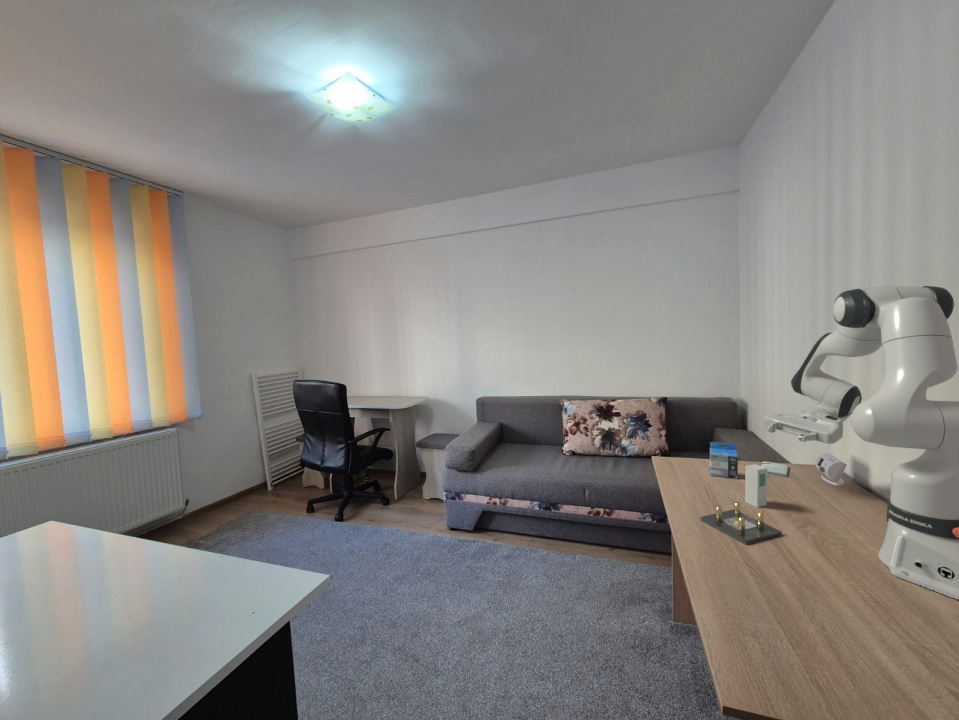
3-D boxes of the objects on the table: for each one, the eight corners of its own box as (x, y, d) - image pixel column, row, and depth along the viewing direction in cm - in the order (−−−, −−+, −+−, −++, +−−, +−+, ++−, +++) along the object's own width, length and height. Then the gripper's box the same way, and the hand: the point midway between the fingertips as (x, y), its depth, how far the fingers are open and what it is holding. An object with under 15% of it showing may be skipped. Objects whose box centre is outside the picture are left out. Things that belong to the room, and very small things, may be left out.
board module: (766, 505, 121) (767, 468, 120) (757, 507, 120) (757, 470, 119) (754, 499, 125) (754, 464, 124) (744, 501, 124) (745, 465, 123)
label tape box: (710, 475, 146) (710, 444, 145) (709, 472, 150) (709, 441, 149) (737, 479, 142) (738, 446, 141) (736, 475, 146) (736, 443, 145)
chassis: (781, 535, 104) (782, 517, 104) (745, 544, 100) (745, 526, 100) (734, 512, 118) (734, 496, 117) (700, 520, 114) (700, 503, 113)
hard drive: (786, 474, 142) (788, 464, 151) (759, 469, 147) (762, 460, 157) (786, 478, 142) (788, 468, 151) (759, 474, 147) (762, 464, 157)
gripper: (778, 405, 139) (752, 416, 135) (848, 421, 120) (821, 435, 116) (778, 421, 140) (752, 433, 136) (848, 439, 122) (821, 454, 117)
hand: (784, 434), depth 126 cm, fingers open, 8 cm apart
